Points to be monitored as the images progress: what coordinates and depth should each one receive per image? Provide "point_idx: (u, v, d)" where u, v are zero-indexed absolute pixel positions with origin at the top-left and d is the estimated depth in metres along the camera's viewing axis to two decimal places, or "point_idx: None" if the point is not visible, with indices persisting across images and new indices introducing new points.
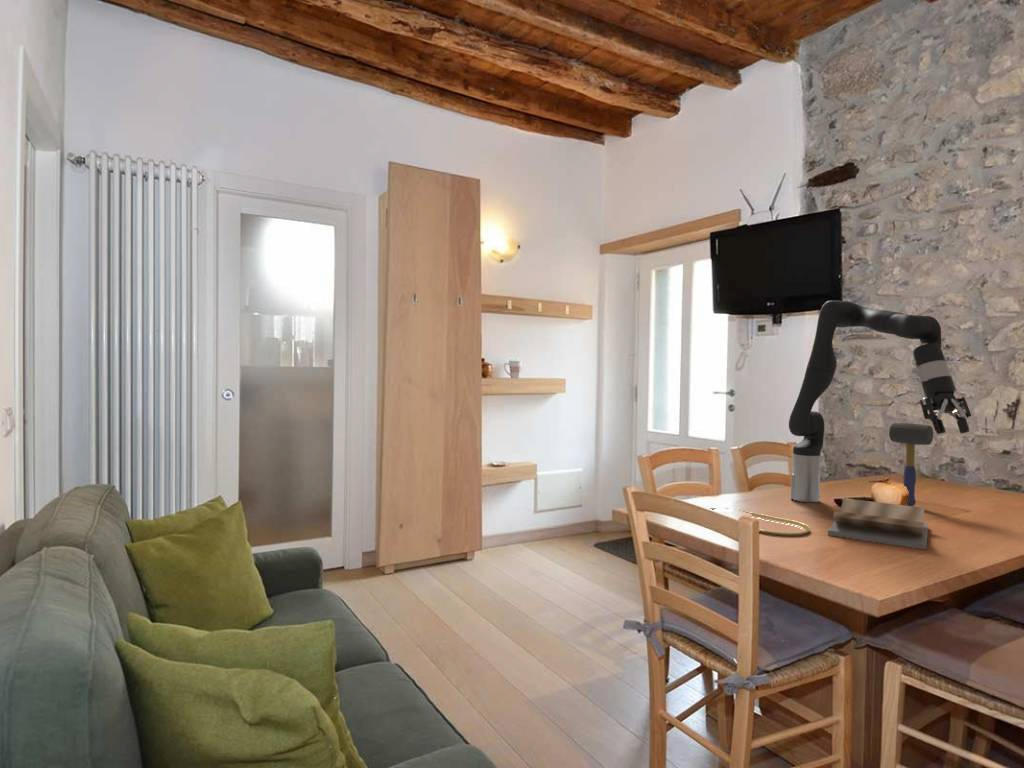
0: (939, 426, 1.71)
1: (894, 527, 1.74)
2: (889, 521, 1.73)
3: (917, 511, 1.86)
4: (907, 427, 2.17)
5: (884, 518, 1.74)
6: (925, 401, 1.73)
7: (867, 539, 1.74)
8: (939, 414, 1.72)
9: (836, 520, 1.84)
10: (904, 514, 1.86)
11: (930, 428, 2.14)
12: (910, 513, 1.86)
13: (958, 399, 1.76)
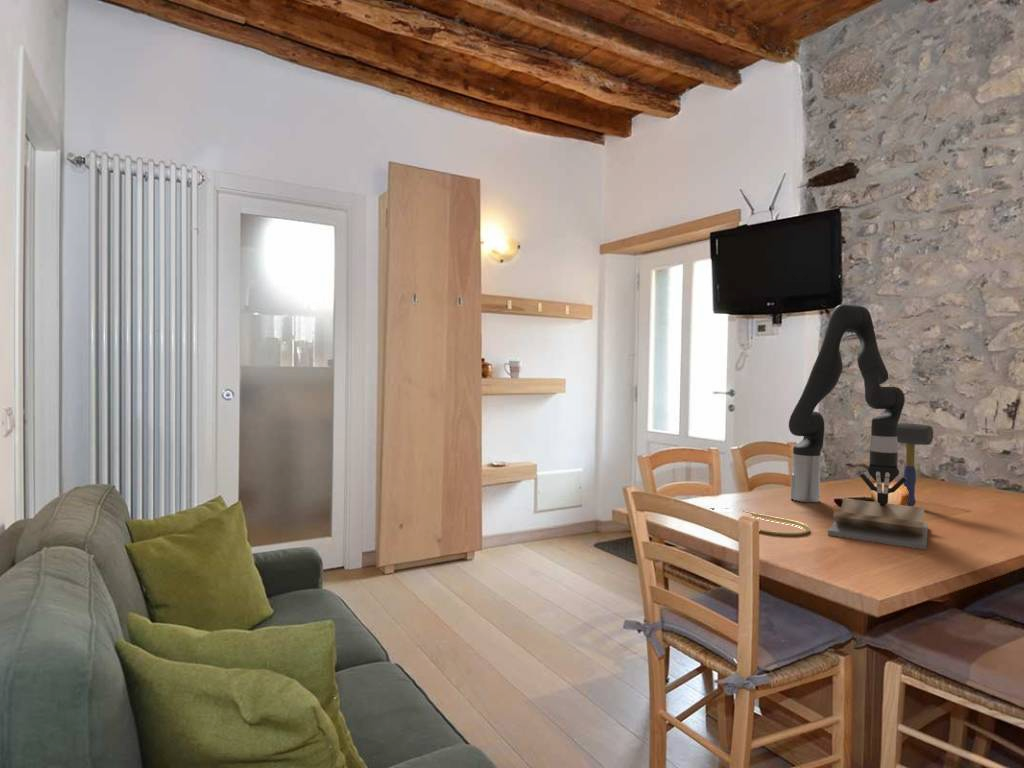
0: (878, 499, 1.92)
1: (894, 527, 1.74)
2: (889, 521, 1.73)
3: (917, 511, 1.86)
4: (907, 427, 2.17)
5: (884, 518, 1.74)
6: (862, 477, 1.95)
7: (867, 539, 1.74)
8: (879, 488, 1.91)
9: (836, 520, 1.84)
10: (904, 514, 1.86)
11: (930, 428, 2.14)
12: (910, 513, 1.86)
13: (901, 477, 1.89)
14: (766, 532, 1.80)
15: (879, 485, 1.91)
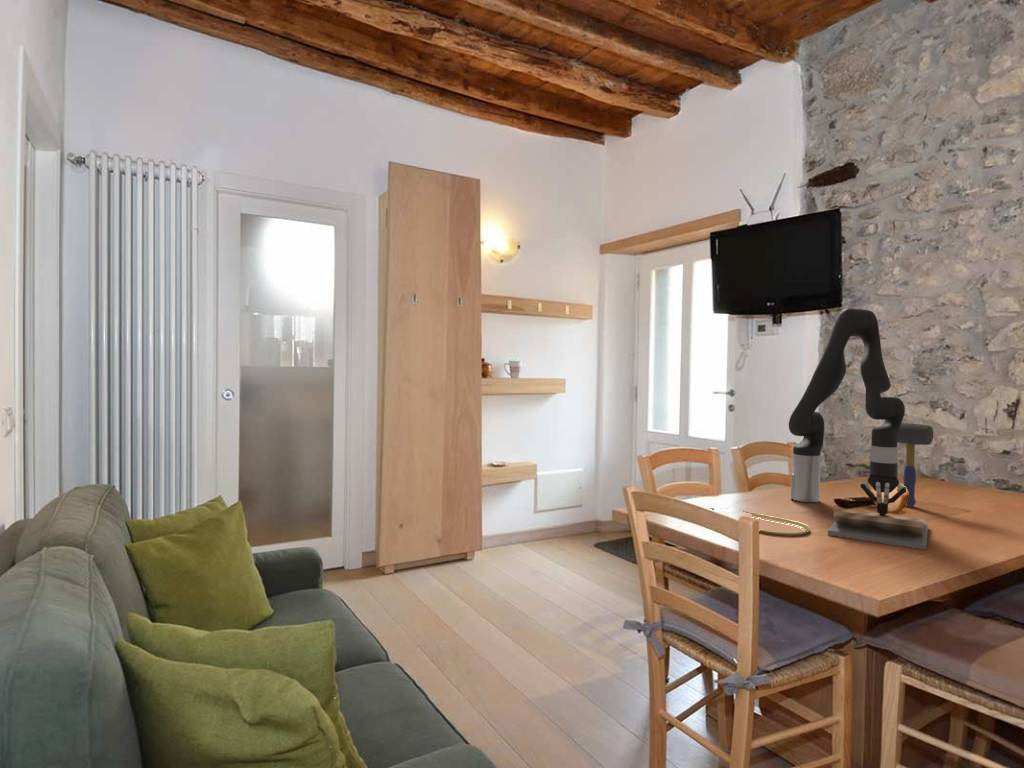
0: (878, 509, 1.93)
1: (894, 527, 1.74)
2: (889, 521, 1.73)
3: (917, 519, 1.87)
4: (907, 427, 2.17)
5: (884, 518, 1.74)
6: None
7: (867, 539, 1.74)
8: (879, 498, 1.92)
9: (836, 520, 1.84)
10: (904, 519, 1.87)
11: (930, 428, 2.14)
12: (910, 519, 1.87)
13: (901, 487, 1.89)
14: (766, 532, 1.80)
15: (879, 495, 1.92)
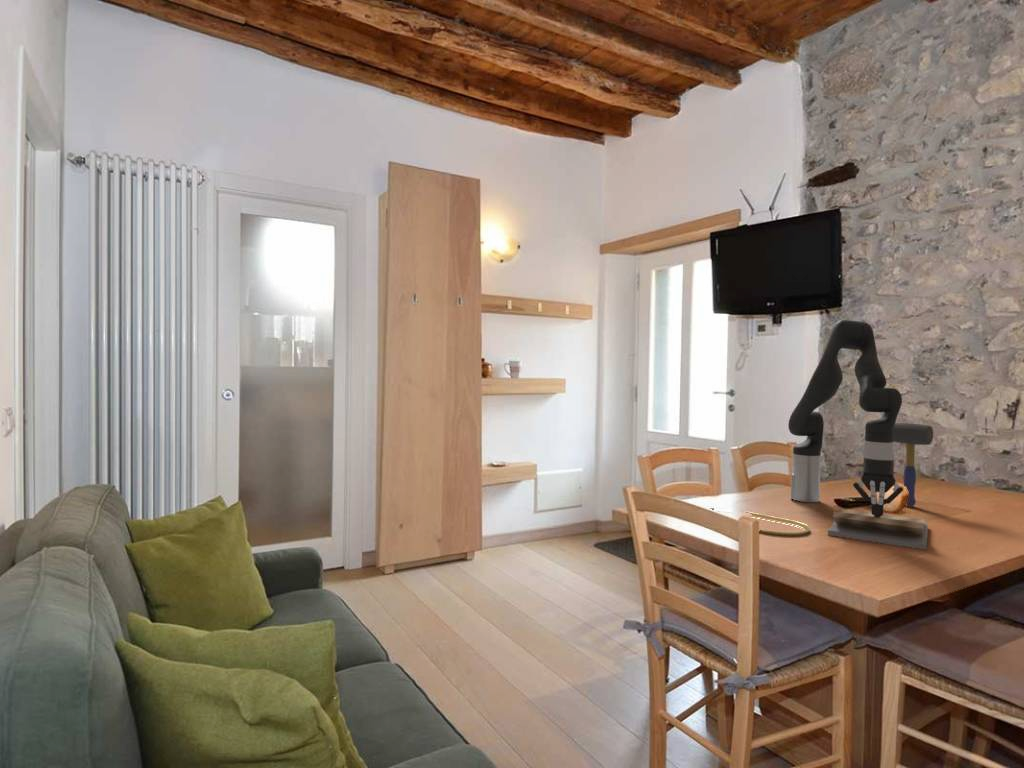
0: (872, 510, 1.76)
1: (894, 527, 1.74)
2: (889, 522, 1.73)
3: (917, 519, 1.87)
4: (907, 427, 2.17)
5: (884, 519, 1.74)
6: None
7: (867, 539, 1.74)
8: (873, 499, 1.75)
9: (836, 520, 1.84)
10: (904, 519, 1.87)
11: (930, 428, 2.14)
12: (910, 519, 1.87)
13: (897, 486, 1.72)
14: (766, 532, 1.80)
15: (873, 495, 1.75)
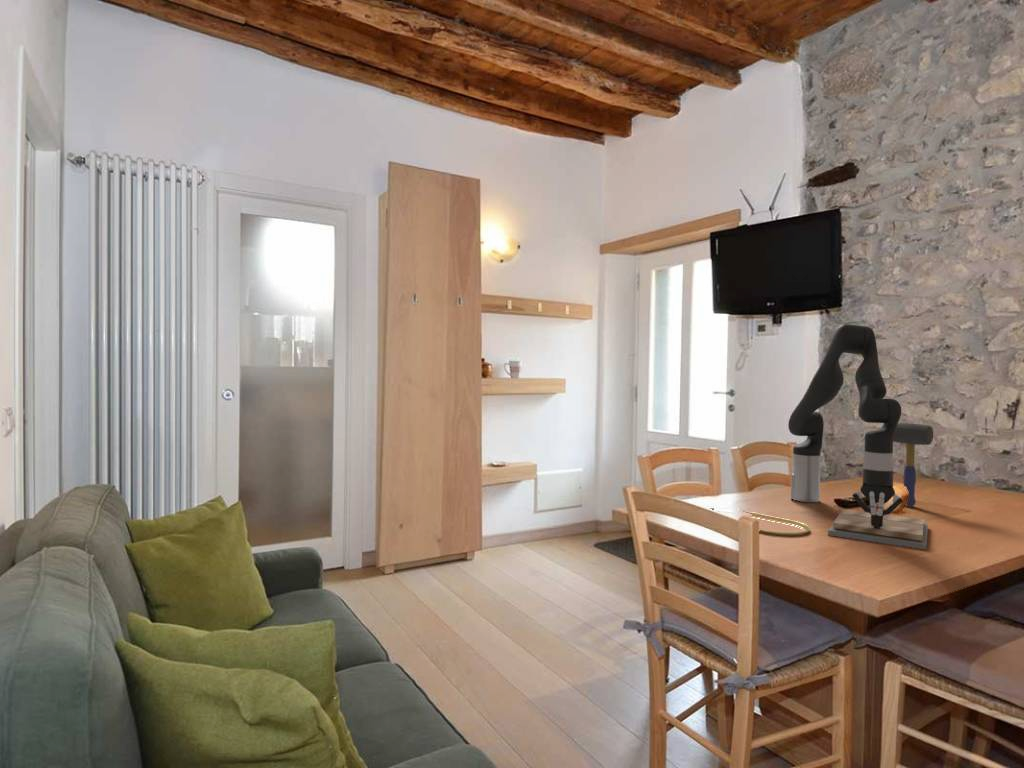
0: (872, 521, 1.75)
1: None
2: (888, 534, 1.73)
3: (917, 519, 1.87)
4: (907, 427, 2.17)
5: (883, 531, 1.73)
6: None
7: (867, 539, 1.74)
8: (873, 510, 1.75)
9: None
10: (904, 519, 1.87)
11: (930, 428, 2.14)
12: (910, 519, 1.87)
13: (897, 497, 1.72)
14: (766, 532, 1.80)
15: (873, 506, 1.74)
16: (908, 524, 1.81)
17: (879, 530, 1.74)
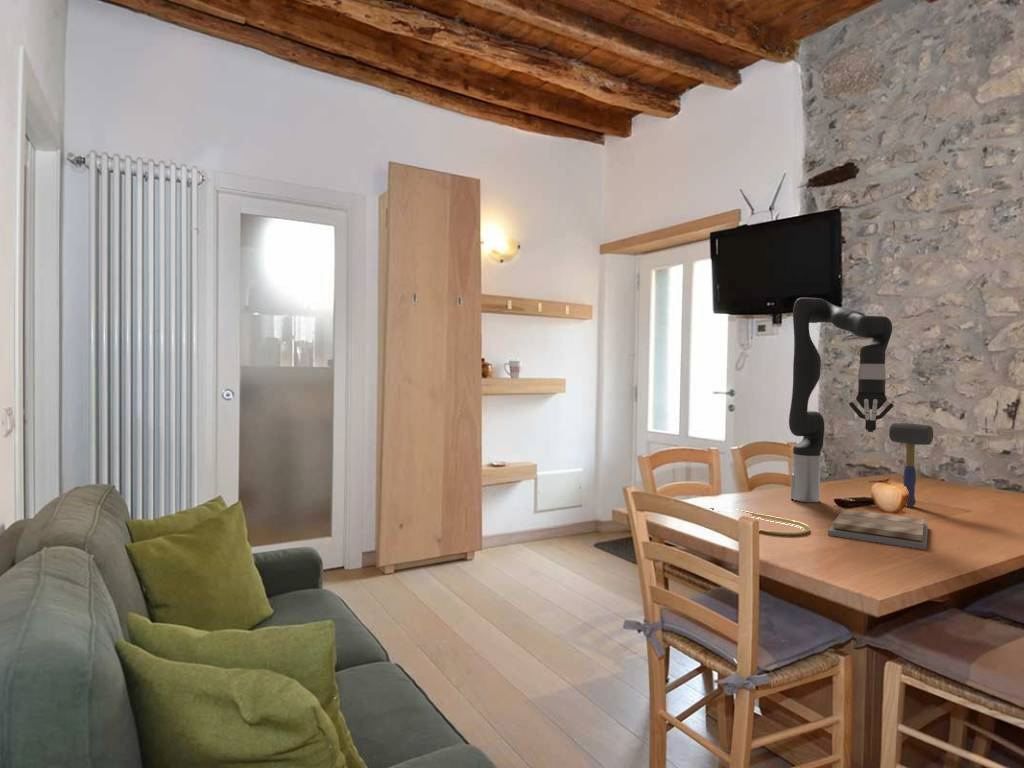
0: (866, 426, 1.96)
1: None
2: (888, 534, 1.73)
3: (917, 519, 1.87)
4: (907, 427, 2.17)
5: (883, 531, 1.73)
6: None
7: (867, 539, 1.74)
8: (867, 415, 1.96)
9: None
10: (904, 519, 1.87)
11: (930, 428, 2.14)
12: (910, 519, 1.87)
13: (888, 403, 1.93)
14: (766, 532, 1.80)
15: (867, 412, 1.95)
16: (908, 524, 1.81)
17: (879, 530, 1.74)
